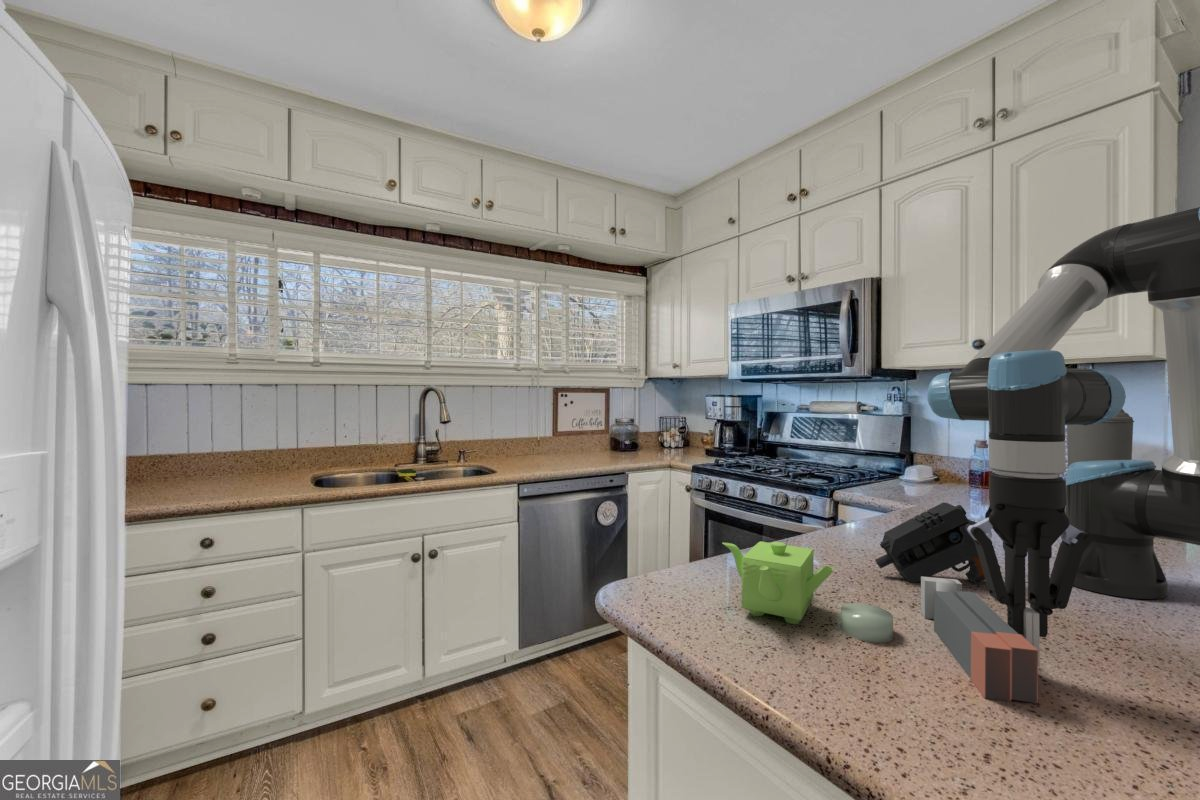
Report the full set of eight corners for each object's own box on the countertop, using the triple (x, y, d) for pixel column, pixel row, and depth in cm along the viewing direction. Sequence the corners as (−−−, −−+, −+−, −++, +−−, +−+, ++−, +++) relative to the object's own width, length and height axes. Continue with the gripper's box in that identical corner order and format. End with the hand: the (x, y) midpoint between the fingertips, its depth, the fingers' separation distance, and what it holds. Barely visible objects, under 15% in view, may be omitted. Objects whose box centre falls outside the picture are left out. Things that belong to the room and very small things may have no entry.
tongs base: (920, 613, 84) (920, 572, 84) (957, 616, 83) (957, 575, 83) (984, 698, 61) (984, 642, 61) (1037, 705, 59) (1037, 648, 59)
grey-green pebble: (886, 625, 80) (886, 606, 80) (898, 646, 74) (898, 625, 74) (837, 619, 82) (837, 601, 82) (844, 640, 76) (844, 619, 76)
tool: (1014, 574, 94) (968, 501, 95) (912, 619, 97) (870, 547, 98) (995, 563, 100) (953, 494, 101) (900, 605, 103) (860, 538, 104)
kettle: (762, 636, 76) (761, 560, 76) (716, 599, 90) (716, 535, 90) (847, 623, 80) (847, 552, 80) (791, 590, 94) (791, 529, 94)
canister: (1140, 539, 124) (1142, 394, 124) (1070, 532, 131) (1071, 394, 131) (1124, 528, 135) (1126, 394, 135) (1060, 521, 142) (1061, 394, 142)
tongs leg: (953, 630, 77) (953, 589, 77) (973, 632, 77) (974, 591, 76) (1010, 699, 60) (1011, 647, 60) (1037, 703, 59) (1038, 650, 59)
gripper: (1070, 471, 67) (1071, 652, 67) (955, 468, 71) (957, 640, 71) (1108, 479, 60) (1110, 683, 60) (979, 476, 64) (980, 668, 64)
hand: (1027, 660), depth 65 cm, fingers closed
